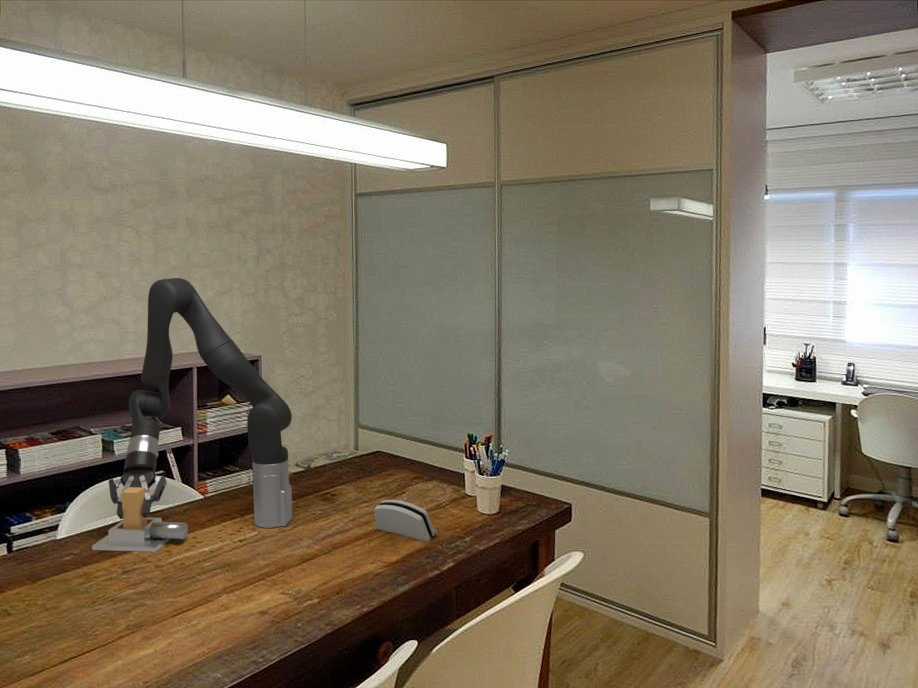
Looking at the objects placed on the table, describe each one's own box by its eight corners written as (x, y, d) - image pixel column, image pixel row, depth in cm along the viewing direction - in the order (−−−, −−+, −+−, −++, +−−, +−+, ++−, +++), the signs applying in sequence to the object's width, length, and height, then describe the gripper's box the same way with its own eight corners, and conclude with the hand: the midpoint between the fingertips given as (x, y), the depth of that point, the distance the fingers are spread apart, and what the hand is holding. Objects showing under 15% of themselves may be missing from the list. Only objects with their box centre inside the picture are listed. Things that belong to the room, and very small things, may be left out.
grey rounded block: (439, 535, 183) (431, 503, 179) (429, 547, 180) (421, 515, 176) (387, 522, 192) (379, 492, 188) (377, 533, 188) (368, 503, 184)
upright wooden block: (147, 529, 181) (145, 487, 179) (139, 535, 177) (136, 492, 175) (132, 529, 181) (129, 487, 180) (123, 535, 177) (121, 492, 176)
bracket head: (195, 533, 184) (194, 514, 184) (173, 552, 172) (172, 532, 172) (118, 531, 186) (117, 512, 185) (92, 549, 174) (90, 530, 173)
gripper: (109, 450, 182) (97, 512, 172) (168, 448, 185) (160, 508, 175) (115, 464, 188) (105, 525, 178) (173, 462, 191) (166, 521, 181)
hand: (132, 516), depth 176 cm, fingers closed on upright wooden block, 5 cm apart
